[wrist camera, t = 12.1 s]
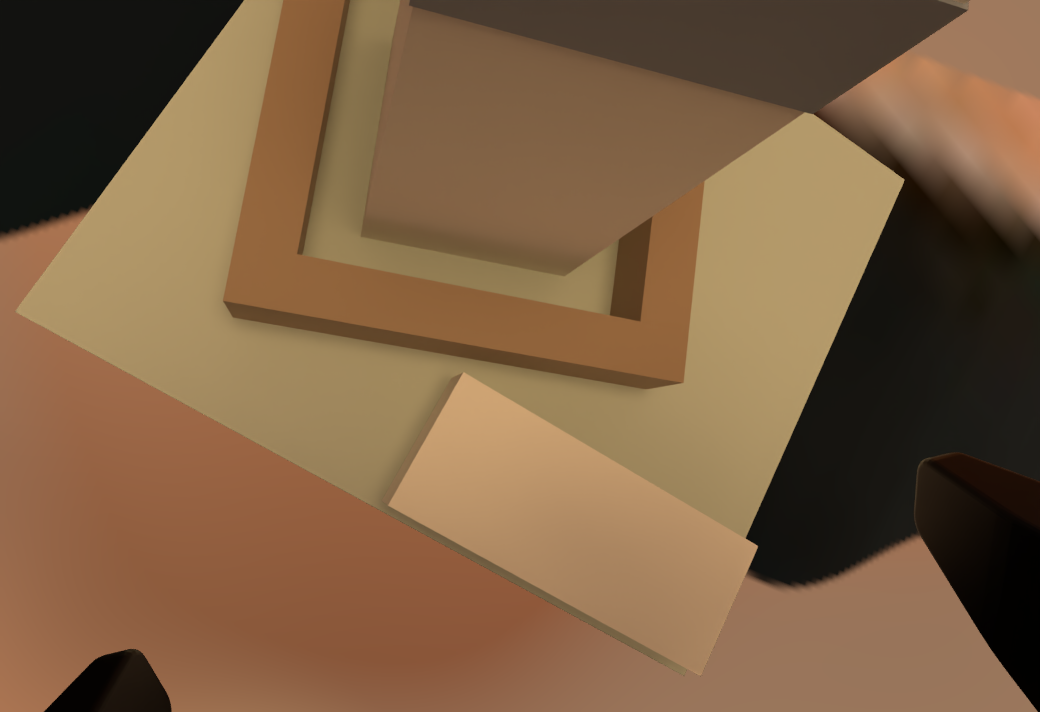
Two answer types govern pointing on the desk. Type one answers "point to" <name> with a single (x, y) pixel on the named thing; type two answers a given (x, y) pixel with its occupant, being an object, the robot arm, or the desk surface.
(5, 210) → the desk surface
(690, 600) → the plate
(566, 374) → the jig
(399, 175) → the tapered square pillar
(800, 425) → the desk surface
